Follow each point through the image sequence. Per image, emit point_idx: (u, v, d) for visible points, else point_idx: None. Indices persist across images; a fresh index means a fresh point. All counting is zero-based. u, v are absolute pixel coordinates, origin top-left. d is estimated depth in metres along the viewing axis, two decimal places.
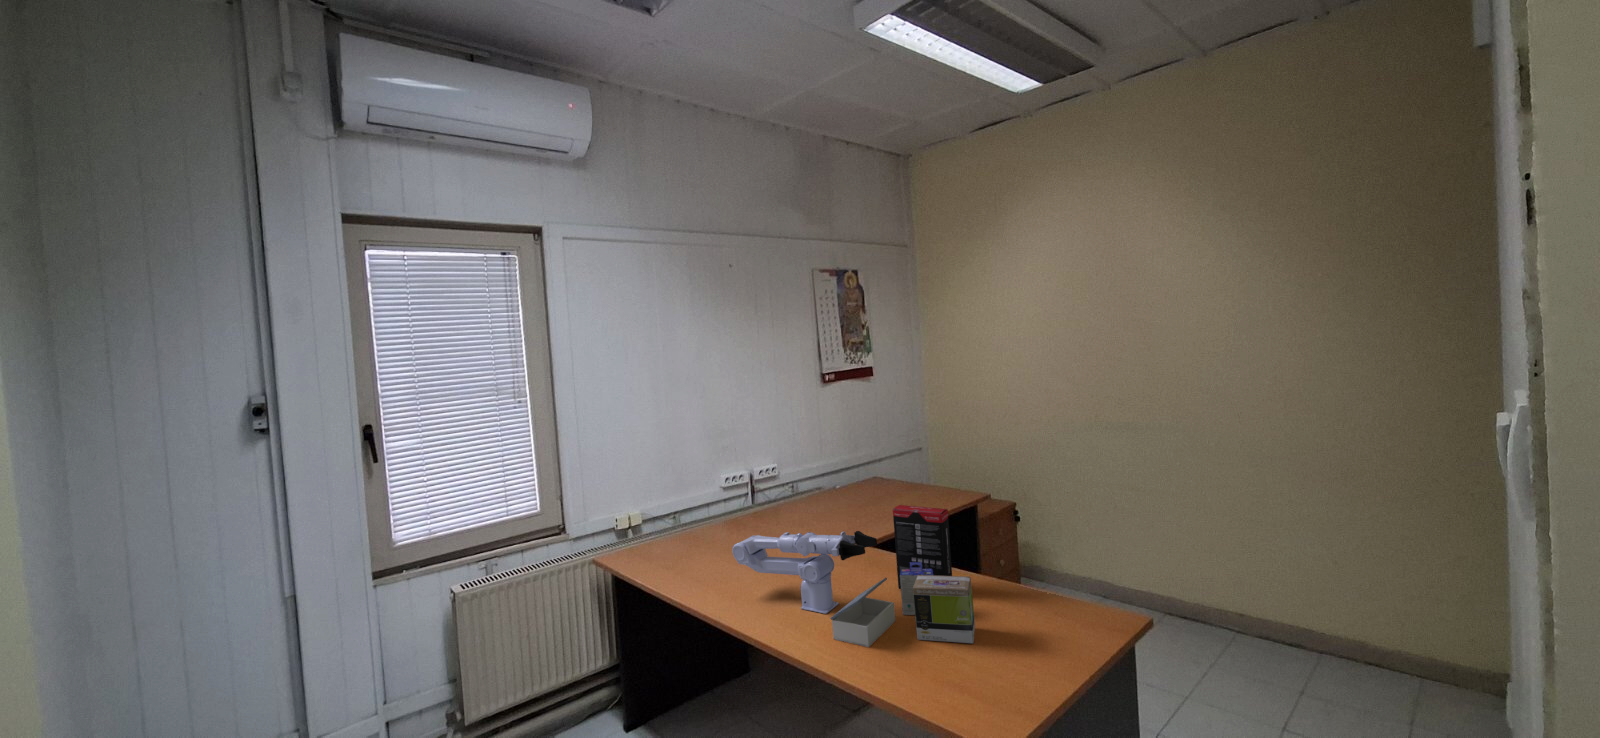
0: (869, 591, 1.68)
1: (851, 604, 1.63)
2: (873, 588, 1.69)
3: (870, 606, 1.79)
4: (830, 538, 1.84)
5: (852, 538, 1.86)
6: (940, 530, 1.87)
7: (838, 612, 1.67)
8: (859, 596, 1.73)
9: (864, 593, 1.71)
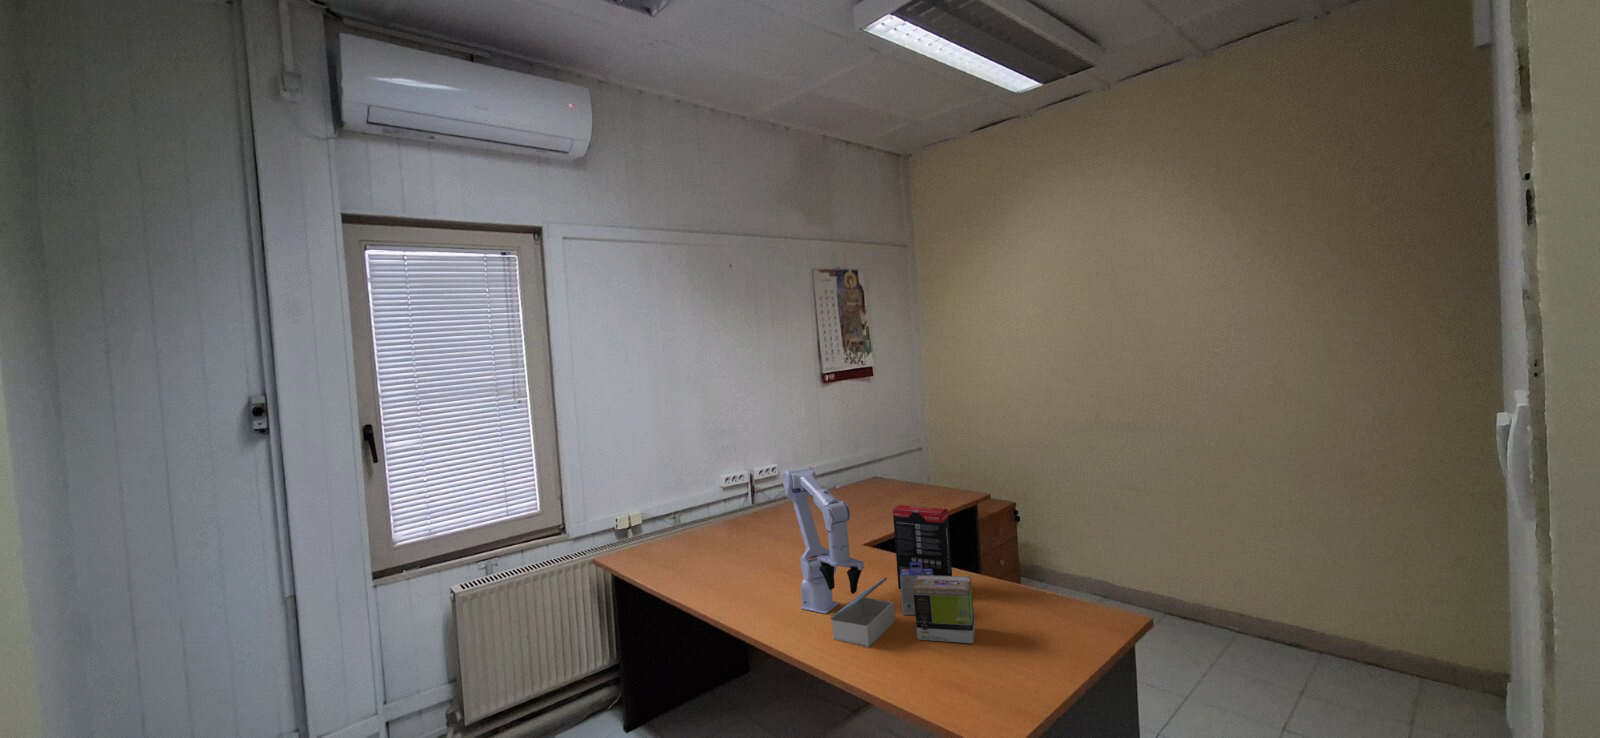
0: (869, 591, 1.68)
1: (851, 604, 1.63)
2: (873, 588, 1.69)
3: (870, 606, 1.79)
4: (830, 550, 1.73)
5: None
6: (940, 530, 1.87)
7: (838, 612, 1.67)
8: (859, 596, 1.73)
9: (864, 593, 1.71)
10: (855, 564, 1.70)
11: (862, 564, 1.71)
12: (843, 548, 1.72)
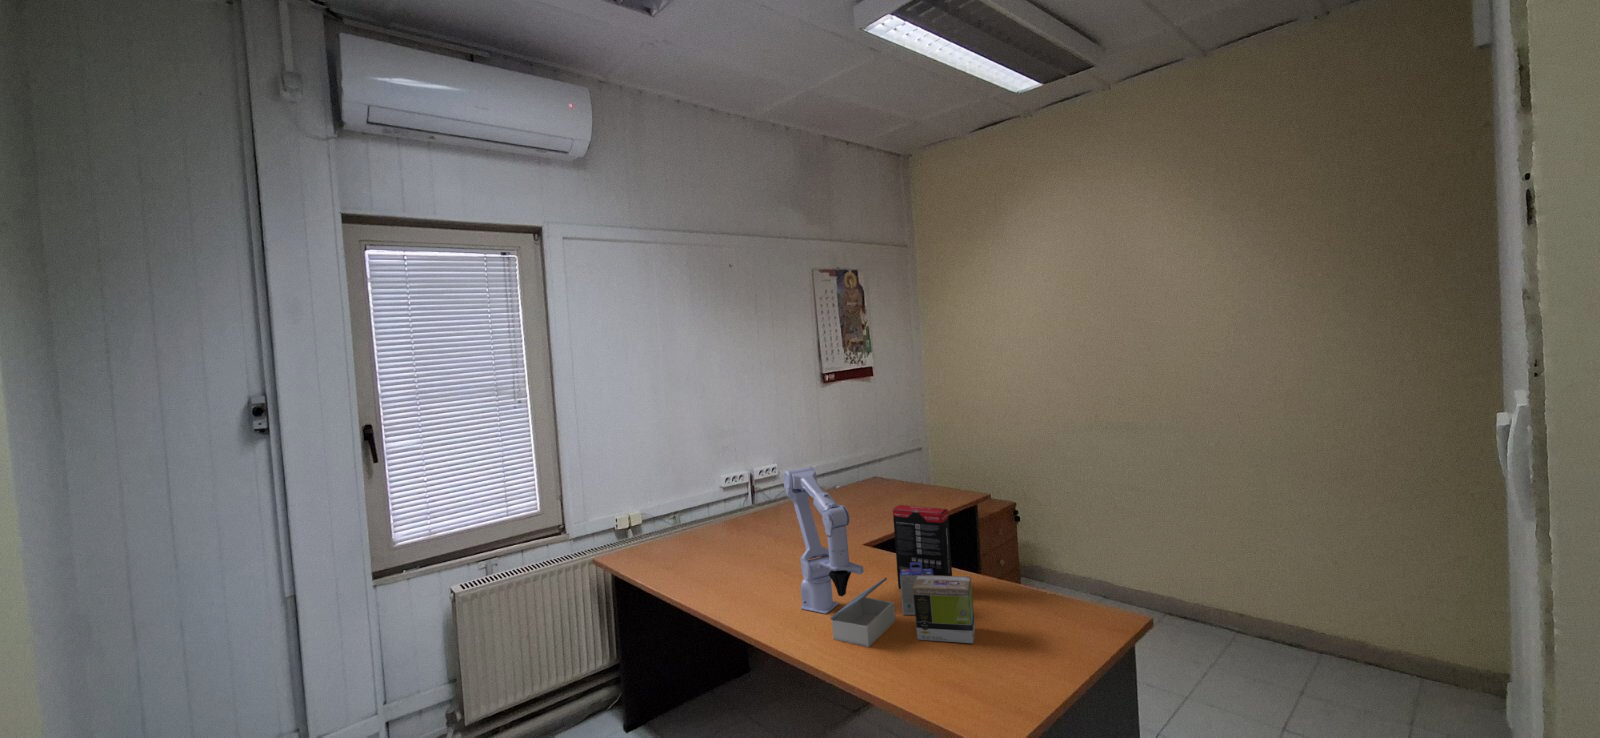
0: (869, 591, 1.68)
1: (851, 604, 1.63)
2: (873, 588, 1.69)
3: (870, 606, 1.79)
4: (830, 554, 1.73)
5: None
6: (940, 530, 1.87)
7: (838, 612, 1.67)
8: (859, 596, 1.73)
9: (864, 593, 1.71)
10: (854, 569, 1.71)
11: (861, 569, 1.71)
12: (843, 552, 1.72)
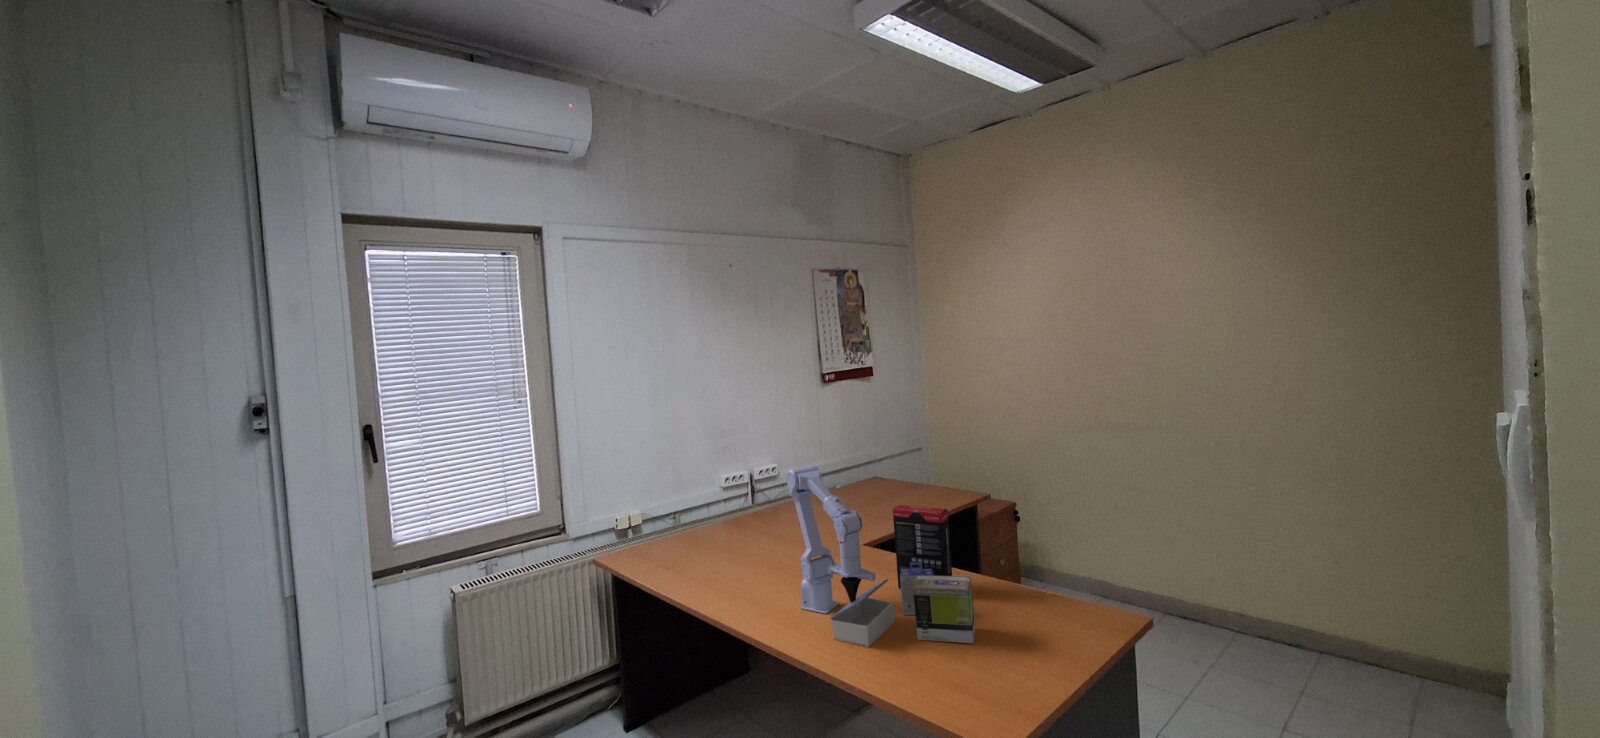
0: (870, 592, 1.67)
1: (852, 605, 1.63)
2: (874, 589, 1.69)
3: (870, 606, 1.79)
4: (841, 560, 1.71)
5: None
6: (940, 530, 1.87)
7: (838, 612, 1.67)
8: (859, 597, 1.73)
9: (865, 594, 1.71)
10: (867, 575, 1.69)
11: (874, 576, 1.69)
12: (855, 559, 1.70)
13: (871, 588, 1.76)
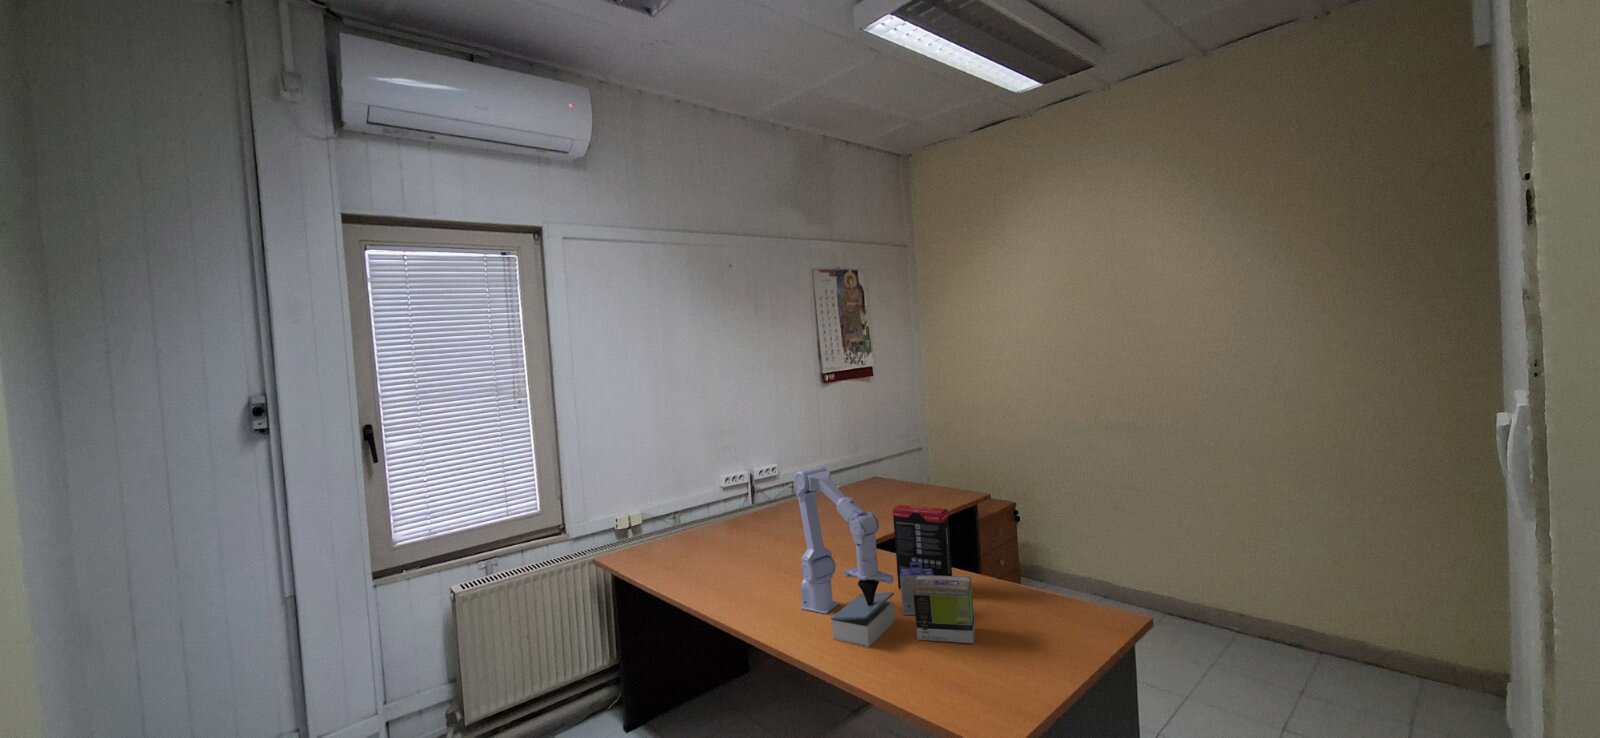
0: (877, 607, 1.67)
1: (857, 616, 1.63)
2: (881, 604, 1.69)
3: None
4: (858, 563, 1.68)
5: None
6: (940, 530, 1.87)
7: (840, 616, 1.67)
8: (863, 603, 1.72)
9: None
10: (884, 578, 1.65)
11: (891, 578, 1.66)
12: (872, 561, 1.67)
13: (875, 596, 1.76)
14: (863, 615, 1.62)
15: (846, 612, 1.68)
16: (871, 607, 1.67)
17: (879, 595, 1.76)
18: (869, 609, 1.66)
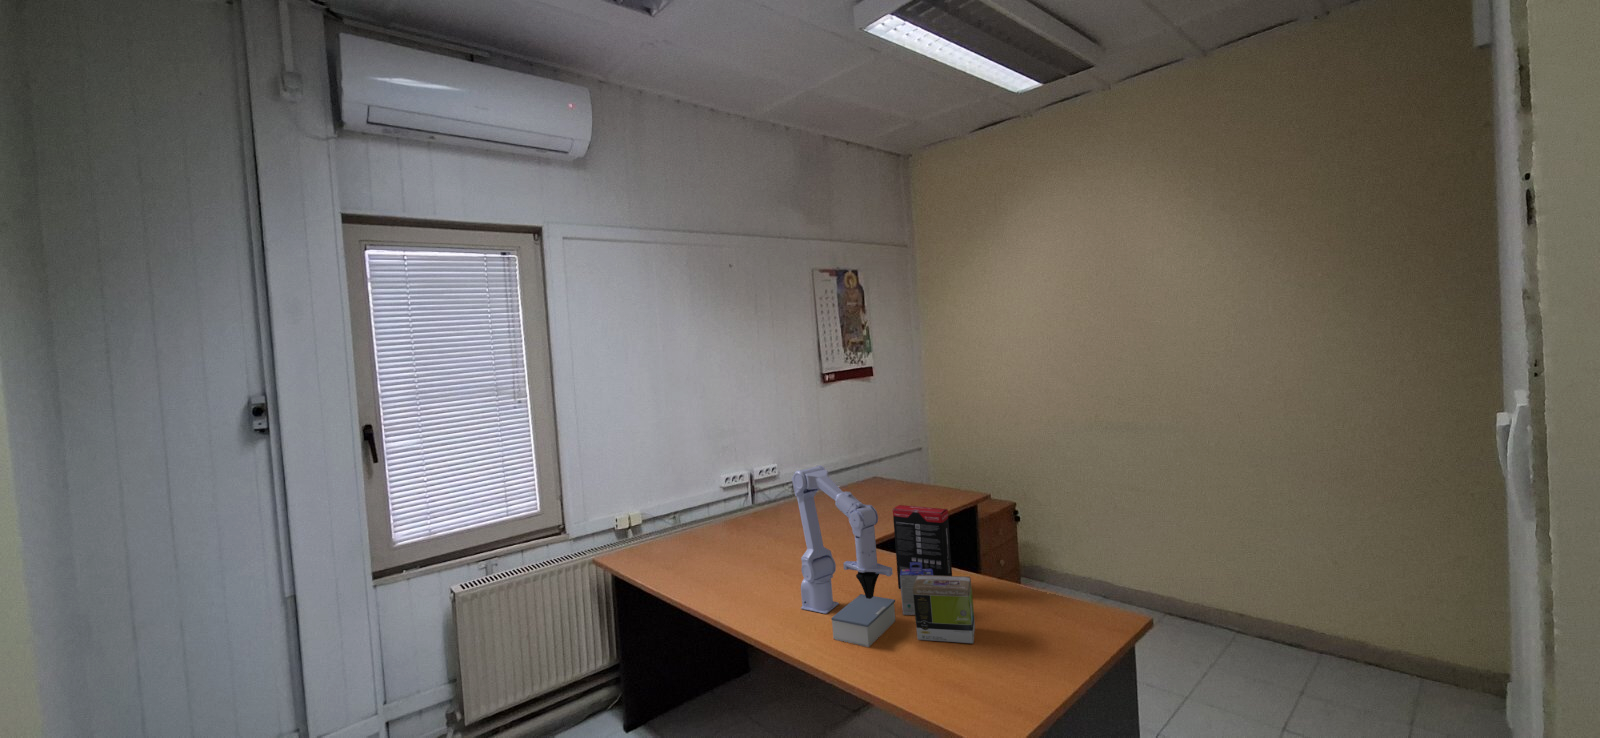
0: (878, 615, 1.66)
1: (859, 623, 1.62)
2: (882, 611, 1.68)
3: None
4: (857, 555, 1.68)
5: None
6: (940, 530, 1.87)
7: (841, 617, 1.67)
8: (864, 607, 1.72)
9: (871, 609, 1.70)
10: (883, 570, 1.65)
11: (891, 570, 1.66)
12: (871, 554, 1.67)
13: (876, 600, 1.76)
14: (865, 622, 1.62)
15: (847, 614, 1.68)
16: (873, 614, 1.67)
17: (880, 600, 1.76)
18: (871, 616, 1.66)
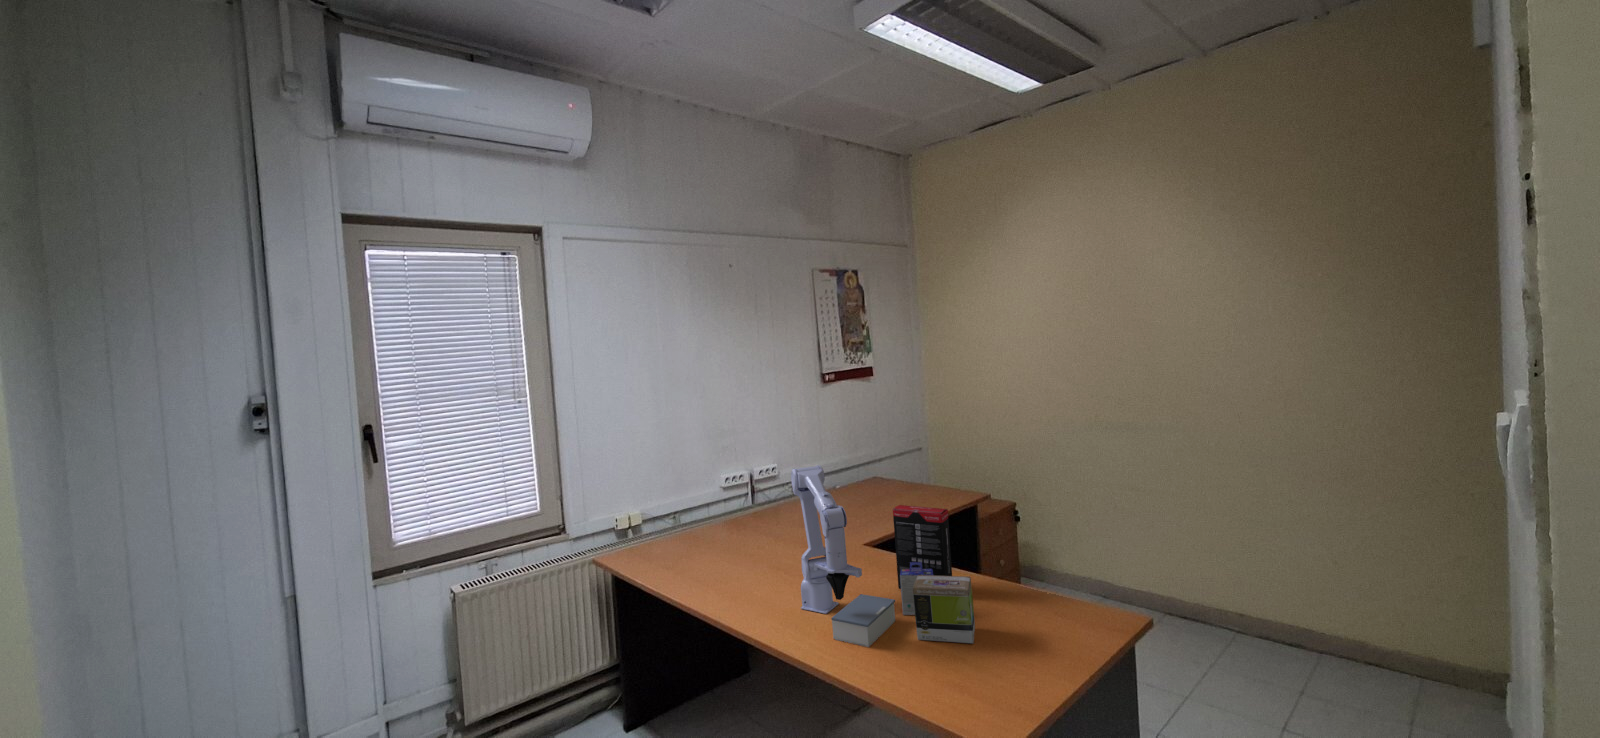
0: (878, 615, 1.66)
1: (859, 623, 1.62)
2: (882, 611, 1.68)
3: None
4: (827, 556, 1.68)
5: None
6: (940, 530, 1.87)
7: (841, 617, 1.67)
8: (864, 607, 1.72)
9: (871, 609, 1.70)
10: (853, 571, 1.65)
11: (860, 571, 1.65)
12: (840, 555, 1.67)
13: (876, 600, 1.76)
14: (865, 622, 1.62)
15: (847, 614, 1.68)
16: (873, 614, 1.67)
17: (880, 600, 1.76)
18: (871, 616, 1.66)
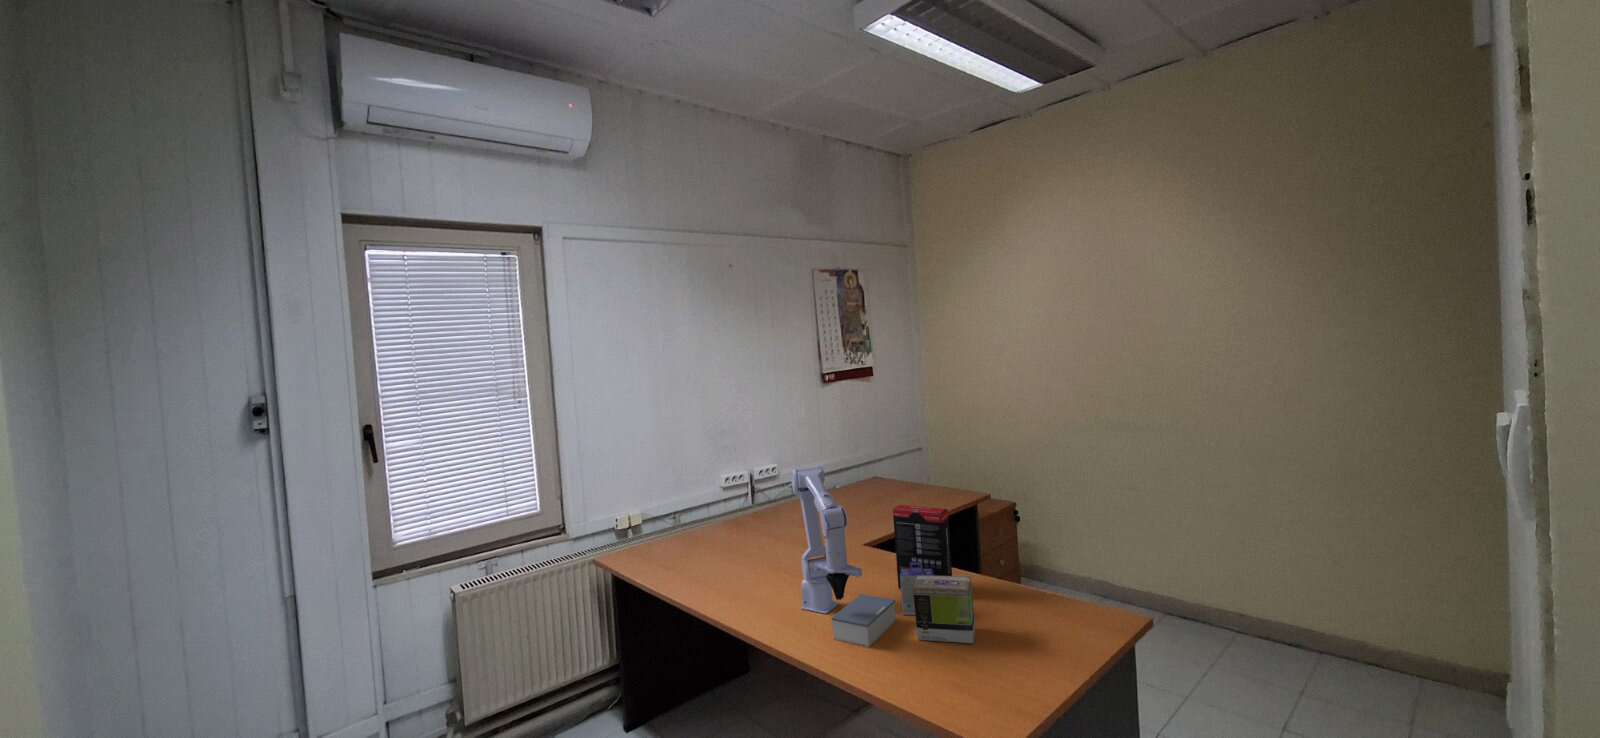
0: (878, 615, 1.66)
1: (859, 623, 1.62)
2: (882, 611, 1.68)
3: None
4: (827, 556, 1.68)
5: None
6: (940, 530, 1.87)
7: (841, 617, 1.67)
8: (864, 607, 1.72)
9: (871, 609, 1.70)
10: (853, 571, 1.65)
11: (860, 571, 1.65)
12: (840, 555, 1.67)
13: (876, 600, 1.76)
14: (865, 622, 1.62)
15: (847, 614, 1.68)
16: (873, 614, 1.67)
17: (880, 600, 1.76)
18: (871, 616, 1.66)
